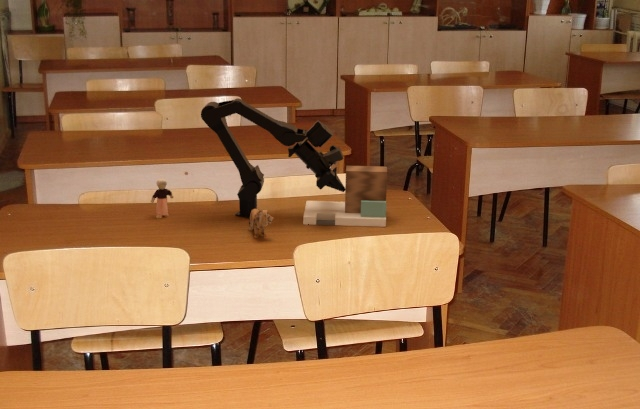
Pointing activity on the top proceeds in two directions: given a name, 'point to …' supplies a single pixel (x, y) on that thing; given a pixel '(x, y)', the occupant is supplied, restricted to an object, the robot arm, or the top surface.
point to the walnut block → (364, 186)
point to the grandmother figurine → (161, 198)
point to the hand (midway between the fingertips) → (344, 190)
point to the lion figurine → (259, 221)
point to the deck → (345, 214)
